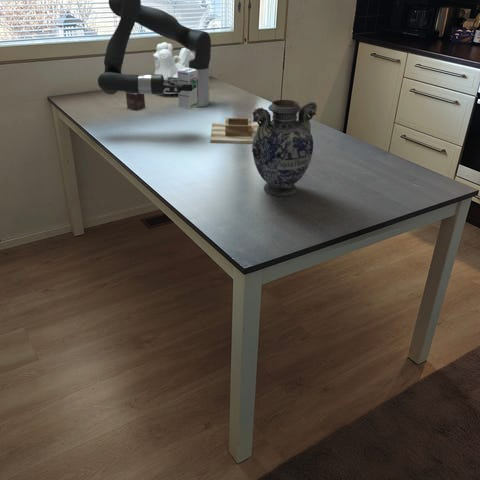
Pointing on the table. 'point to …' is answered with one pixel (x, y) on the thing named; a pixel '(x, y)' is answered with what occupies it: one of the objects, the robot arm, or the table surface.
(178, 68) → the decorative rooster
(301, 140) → the decorative vase
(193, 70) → the syrup box
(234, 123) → the socket board
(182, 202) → the table surface
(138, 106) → the box
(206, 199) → the table surface
